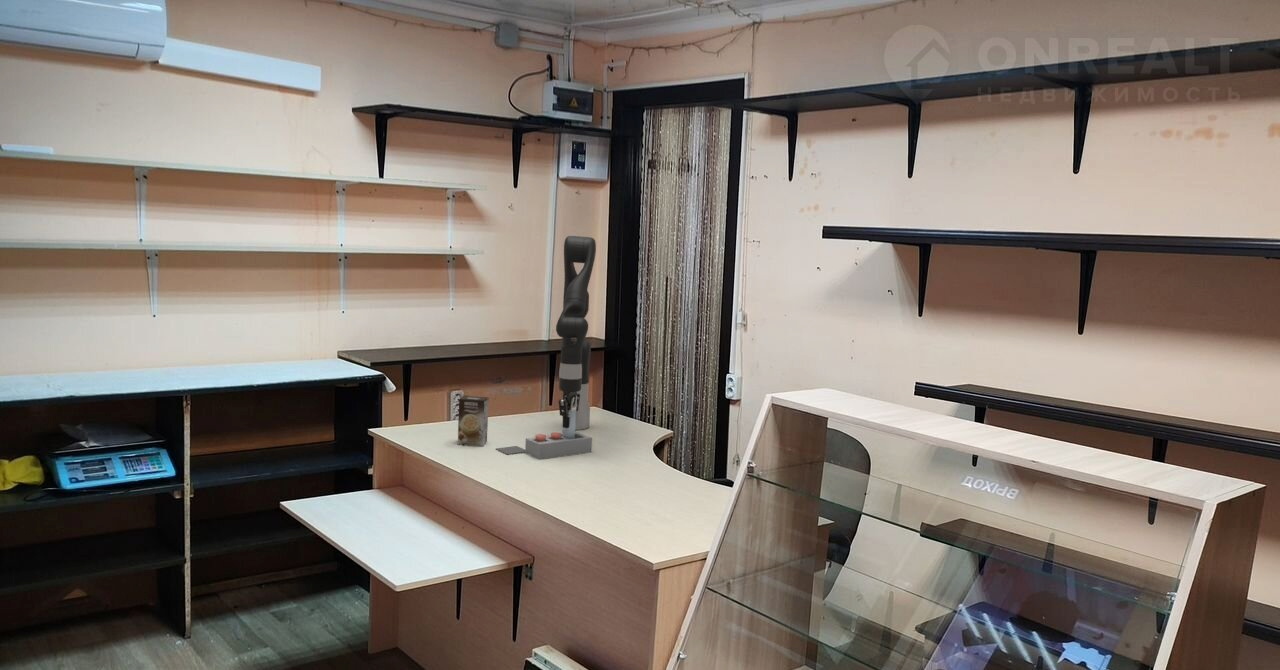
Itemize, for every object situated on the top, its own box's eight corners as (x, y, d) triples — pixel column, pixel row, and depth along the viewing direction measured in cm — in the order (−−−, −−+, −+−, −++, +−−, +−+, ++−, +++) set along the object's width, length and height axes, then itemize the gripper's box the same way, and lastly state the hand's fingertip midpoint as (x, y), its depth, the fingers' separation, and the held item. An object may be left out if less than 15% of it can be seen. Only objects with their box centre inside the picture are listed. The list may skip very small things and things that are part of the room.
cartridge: (577, 449, 315) (578, 405, 313) (572, 452, 311) (573, 408, 309) (564, 447, 316) (565, 404, 315) (559, 450, 312) (559, 407, 310)
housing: (576, 446, 320) (577, 432, 319) (591, 452, 313) (592, 437, 312) (525, 453, 308) (525, 438, 307) (539, 459, 301) (539, 444, 300)
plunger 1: (541, 449, 308) (542, 433, 308) (547, 452, 306) (547, 435, 305) (533, 451, 306) (533, 434, 305) (538, 453, 303) (538, 437, 303)
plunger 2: (557, 447, 312) (557, 432, 311) (562, 450, 309) (563, 434, 308) (548, 449, 310) (549, 433, 309) (553, 451, 307) (554, 435, 306)
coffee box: (456, 444, 315) (457, 398, 313) (462, 440, 321) (463, 395, 319) (483, 446, 314) (484, 400, 312) (488, 442, 320) (489, 396, 318)
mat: (516, 446, 315) (516, 445, 315) (528, 452, 309) (528, 451, 309) (495, 449, 311) (495, 448, 310) (507, 455, 304) (507, 453, 304)
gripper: (573, 380, 302) (571, 431, 305) (588, 374, 316) (586, 423, 318) (551, 378, 305) (550, 429, 307) (568, 372, 318) (566, 420, 320)
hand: (568, 425), depth 313 cm, fingers closed on cartridge, 4 cm apart
